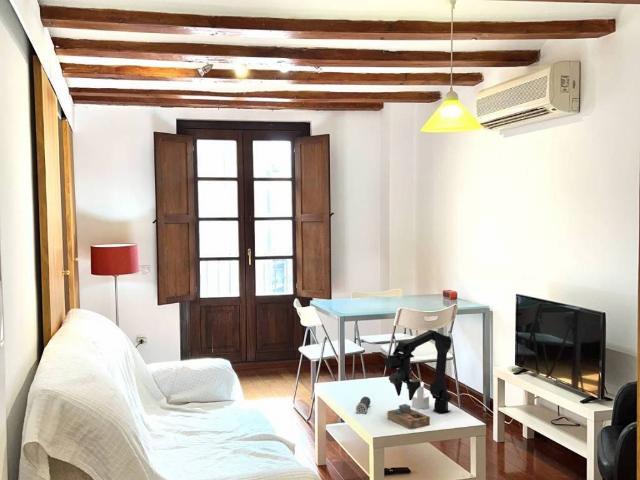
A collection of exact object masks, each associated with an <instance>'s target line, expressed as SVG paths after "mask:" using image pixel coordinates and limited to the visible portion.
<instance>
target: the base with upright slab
mask: <svg viewBox="0 0 640 480" xmlns="http://www.w3.org/2000/svg"><path fill="white" fill-rule="evenodd" d="M420 382H421V387H419V388H418V389H417V390H416V392H415V394H414V396H413V398H412V400H411V407H412V408H413V409H414V410H415V409H417V410H427V408H428V409H429V408H430V395H429V394H427V393H425V392H424V391H425V390H424V389H425V387H424V386H425V384H424V381H420Z"/></svg>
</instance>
